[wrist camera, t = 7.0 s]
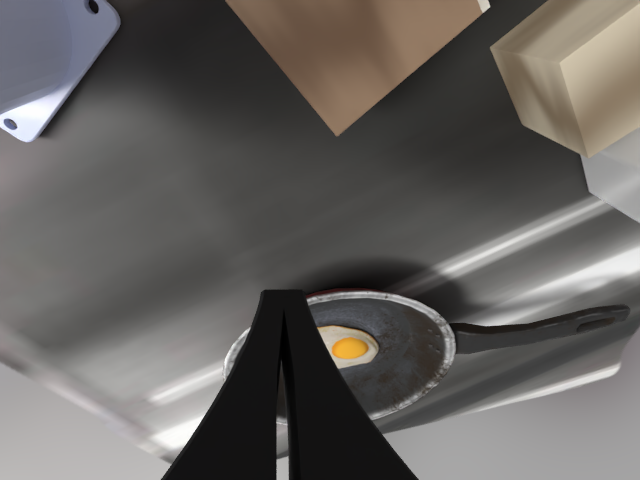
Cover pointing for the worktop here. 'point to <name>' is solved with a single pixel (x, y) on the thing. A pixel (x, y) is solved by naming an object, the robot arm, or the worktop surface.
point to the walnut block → (353, 45)
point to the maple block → (575, 71)
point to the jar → (617, 174)
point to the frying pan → (411, 343)
